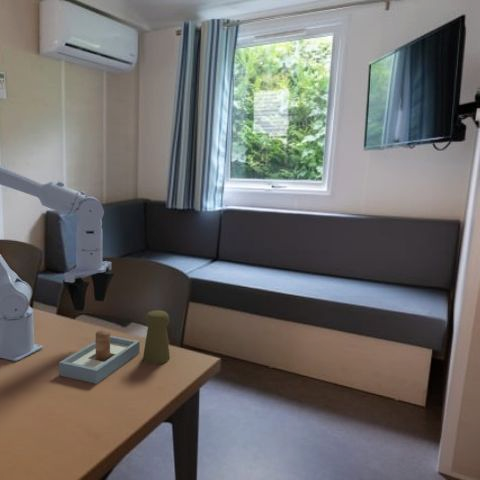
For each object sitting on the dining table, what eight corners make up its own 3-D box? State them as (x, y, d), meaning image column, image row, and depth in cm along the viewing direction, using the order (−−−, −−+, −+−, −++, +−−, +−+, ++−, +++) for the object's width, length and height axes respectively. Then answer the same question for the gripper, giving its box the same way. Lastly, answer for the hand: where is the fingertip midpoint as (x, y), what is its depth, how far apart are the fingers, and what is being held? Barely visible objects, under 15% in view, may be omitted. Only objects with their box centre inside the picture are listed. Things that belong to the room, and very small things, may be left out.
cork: (164, 365, 92) (165, 318, 90) (138, 362, 93) (139, 314, 91) (173, 354, 98) (175, 309, 96) (149, 351, 99) (150, 306, 97)
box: (59, 375, 85) (58, 362, 85) (106, 345, 100) (106, 334, 100) (96, 383, 82) (96, 370, 82) (139, 352, 98) (139, 341, 97)
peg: (103, 367, 89) (103, 336, 88) (92, 364, 91) (92, 333, 89) (113, 362, 92) (113, 332, 91) (102, 359, 93) (102, 329, 92)
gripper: (83, 255, 89) (83, 317, 91) (122, 245, 102) (121, 299, 105) (56, 252, 91) (57, 312, 93) (97, 242, 104) (97, 295, 107)
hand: (89, 305), depth 99 cm, fingers open, 7 cm apart
